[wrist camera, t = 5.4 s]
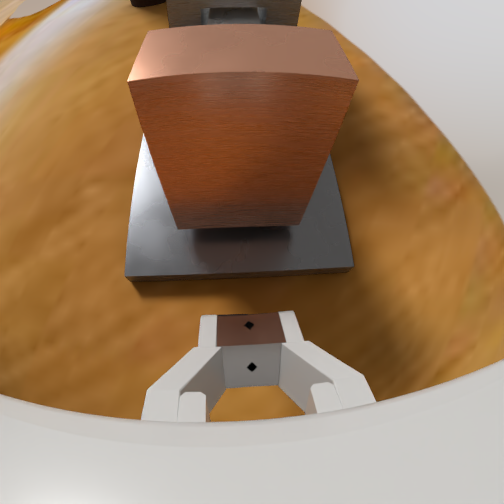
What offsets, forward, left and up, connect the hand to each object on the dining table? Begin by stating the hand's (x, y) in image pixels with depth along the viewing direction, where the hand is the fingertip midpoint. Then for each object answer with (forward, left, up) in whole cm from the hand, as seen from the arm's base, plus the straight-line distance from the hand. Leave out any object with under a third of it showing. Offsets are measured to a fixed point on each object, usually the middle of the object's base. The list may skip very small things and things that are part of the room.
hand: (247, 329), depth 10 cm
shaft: (-11, +9, -3) cm, 14 cm away
